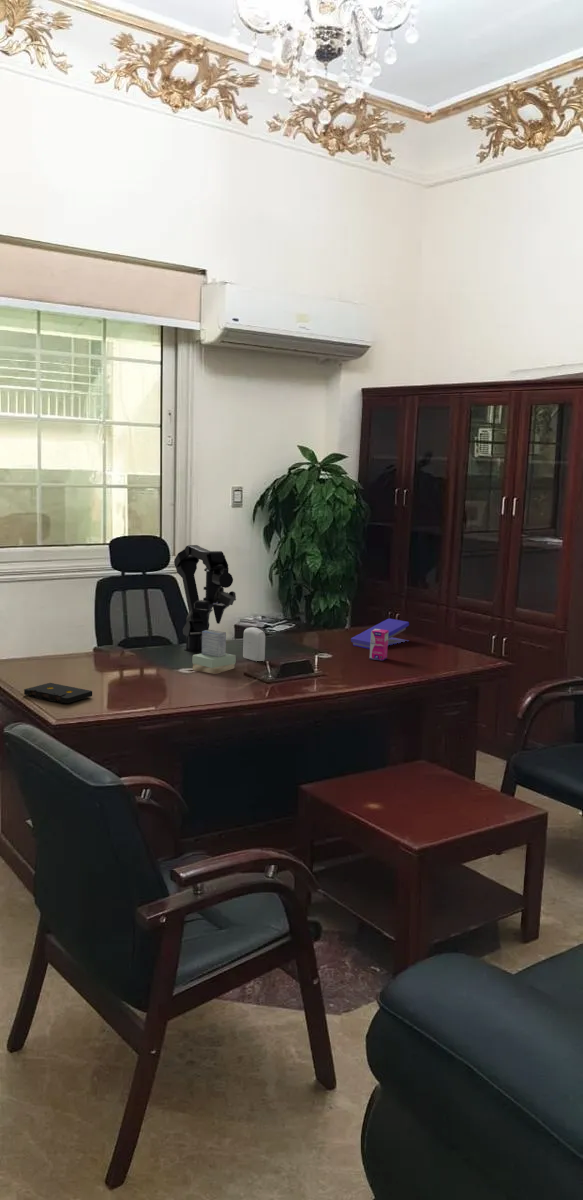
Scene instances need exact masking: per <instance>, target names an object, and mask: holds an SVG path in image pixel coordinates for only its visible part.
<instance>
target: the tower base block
mask: <svg viewBox="0 0 583 1200" xmlns="http://www.w3.org/2000/svg"><path fill="white" fill-rule="evenodd" d="M233 669H235V664H230V665H225V666H219V667H214V668H210V667H206V666H202V665H197V664H193V663H192V671H195V672H196V671H197V672H201V673H209V674H212V675H213V674H214V675H217V674H220V673H224V672H227V671H229V670H233Z"/></svg>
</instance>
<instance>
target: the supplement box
mask: <svg viewBox="0 0 583 1200" xmlns="http://www.w3.org/2000/svg"><path fill="white" fill-rule="evenodd" d="M388 633H389V630H382V629H374V630H372V631H371V642H370V649H369V660H376V661H381V662H383V661H385V660H387V659H388V647H389V646H388Z"/></svg>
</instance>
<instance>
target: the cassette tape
mask: <svg viewBox="0 0 583 1200" xmlns="http://www.w3.org/2000/svg"><path fill="white" fill-rule="evenodd" d="M23 691H24V692H23V694H24V695H26V696H30V697H31V698H34V699H35V698H36V699H39V700H45V701H50V702H56V703H59V704H61V703H63V704H69V703H74V702H76V701H77V702H78V701H79V700H83V699H87V698H90V697H93V690H88V689H83V688H81V687H80V688H78V687H75V686H74V687H73V686H69V685H63V684H57V683H53V682H47V683H44V684H39V685H36V686H32V687H29V688H25V689H23Z"/></svg>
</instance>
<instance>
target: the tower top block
mask: <svg viewBox="0 0 583 1200" xmlns="http://www.w3.org/2000/svg"><path fill="white" fill-rule="evenodd" d="M236 658H237V655H236V654H232V653H227V652H226V655H225V656H222V657H215V656H210V655H204V654H202V653H197V654H193V655H192V660H191V662H192V665H193V664H197V665H202V666H206V667H210V668H214V667H219V666H225V665H230V664H234V665H235V664H237V663H236V662H237V661H236V660H237V659H236Z"/></svg>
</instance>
